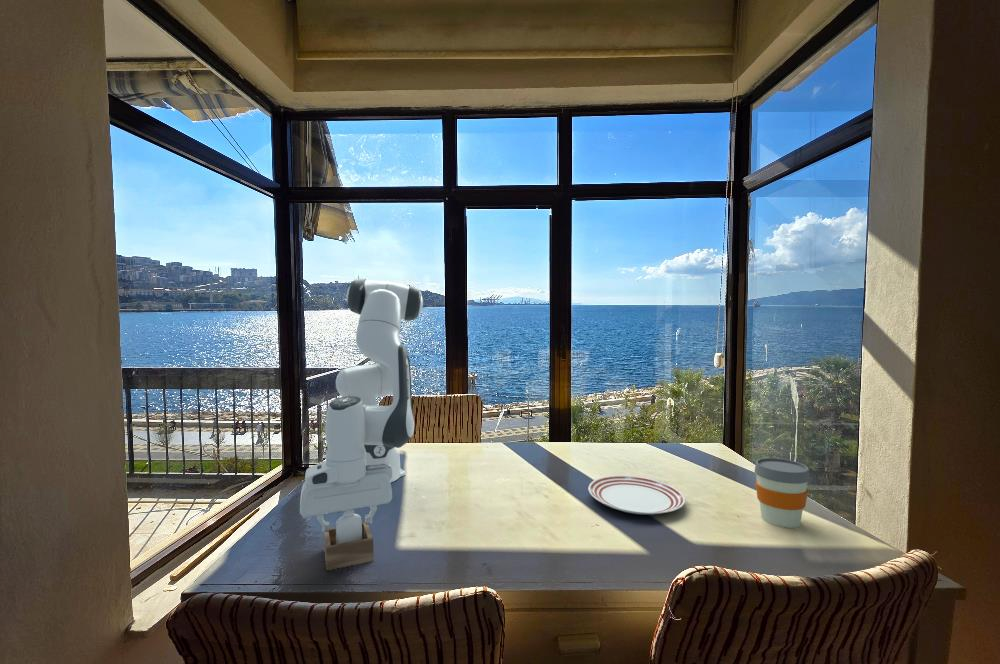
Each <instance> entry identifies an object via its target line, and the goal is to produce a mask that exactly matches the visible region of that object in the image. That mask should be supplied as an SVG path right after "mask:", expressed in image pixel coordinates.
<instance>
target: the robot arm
mask: <svg viewBox="0 0 1000 664" xmlns="http://www.w3.org/2000/svg"><path fill="white" fill-rule="evenodd" d="M422 293H423V292H421V290H420V289H419V288H418V287H415V286H413V285H405V284H403V283H397V282H394V281H385V280H384V281H383V280H373V279H372V280H371V279H370V280H369V279H366V278H356V279H354V280H353V281H352V282H350V284H349V286H348V288H347V291H346V295H345V299H346V305H347V308H348V309H349V311H350V312H352V313H355V314H357V315H359V319H358V323H357V329H356V334H355V335H356V336H355V341H356V342H355V343H356V346H357V348H358V351H360V353H361V354H362V355H363V356H365V357H366V358H367V359H369V360H370V361H372V362H375V363H374V364H373V363H372V364H358V365H353V366H350V367H346V368H343V369H341V370H340V371H339V372H338V373H337V376H336V379H335V388H336V390H337V393H338V394H339V395H340V396H341V397H337V398H334V399H333V400H332V401H330V402H329V403H328V405H327V410H326V413H325V414H326V415H325V428H324V429H325V432H324V433H325V435H324V436H325V442H326V445H327V448H326V449H327V450H326V454H325V460H323V461H321V462H318V463H317V464H315V465H312V466H310V467H308V468H307V469H306V471H305V474H304V475H305V476H304V479H305V481H303V484H302V487H301V491H300V492H301V493H300V500H299V514H300V516H302V517H303V518H308V517H315V516H316V519H317V521H318V523H320V525H321V526H322V533H323V534H324V533H325V532H330V528H331V527H330V521H325V518H324V517H325V515H326V514H331V513H332V514H333V513H337V512H338V513H339V512H343V511H345V510H351V509H354V510H356V509H363V508H366V507H367V508H368V507H369V508H370V511H369V513H368V514H365V515H364V522H365V524H366V525H372V524H373V517H374V516H375V514H376V512H377V510H378V506H380V505H387V504H389V503H390V502H391V501H392V500H393V489H392V485H391V484H392V483H394V482H395V481H397V480H398V479H400V478H401V477H403V476H405V475H406V471H405V470H404V469H402V467H401V459H400V451H398V450H397V449H400V448H402V447H403V446H405V445H406V444H407V443H408V442H410V440H411V439H412V438H413V437H414V433H415V419H414V418H415V417H414V411H413V400H412V385H413V382H414V379H413V378H414V377H413V373H412V372H413V371H412V370H411V363H410V362H411V361H410V355H409V354H410V353H409V351H408V349H407V347H406V346H405V345H403V344H402V343H401V339H400V335H401V334H400V332H401V325H402V320H404V321H406V322H408V321H415V320H416V319H418V317H419V316H420V314H421V312H422V310H423V306H424V298H423V296H422ZM386 396H387V397H388V396H392V403H391V404H390V405H378V402H377V398H378V397H386Z"/></svg>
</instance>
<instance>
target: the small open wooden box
mask: <svg viewBox="0 0 1000 664" xmlns="http://www.w3.org/2000/svg"><path fill="white" fill-rule="evenodd" d="M369 525H370V524H368V525H366V524H365V521H362V540H357V541H352V542H346V543H341V544H336V526H333V527H330V532H325V533H323V551H324V552H325V553H324V559H325V560H324V561H326V562H325V567H326V568H325V570H329V571H333V569H334V570H338V569H337V568H339V569H342V567H343V568H348V567H352V566H351V565H353V566H357V565H361V564H362V565H363V564H366V563H367V564H368V563H370V562H374V561H375V560H374V558H375V557H374V537H373V534H372V531H371V529H370V526H369ZM347 566H348V567H347Z"/></svg>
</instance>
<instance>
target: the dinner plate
mask: <svg viewBox="0 0 1000 664" xmlns="http://www.w3.org/2000/svg"><path fill="white" fill-rule="evenodd" d="M587 489H588V492H589V494H590V495H591V497H592V498H594V499H595V500H596V501H598V502H599V503H601V504H603V505H604V506H606V507H609V508H611V509H614V510H618V511H620V512H622V513H627V514H631V515H632V514H633V515H646V516H647V515H660V514H661V515H662V514H665V513H666V514H667V513H671V512H675V511H677V510H680V509H681V508H682V507H684V506H685V503H686V498H685V495H684V494H683V493H682V492H681V491H680V490H678V489H677V488H676V487H674V486H672V485H670V484H667V483H665V482H663V481H660V480H657V479H653V478H647V477H644V476H636V475H621V474H620V475H606V476H602V477H599V478H596V479H594V480H592V481H591V482H590V483H589V485H588V487H587Z"/></svg>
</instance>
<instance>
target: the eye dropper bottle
mask: <svg viewBox="0 0 1000 664" xmlns="http://www.w3.org/2000/svg"><path fill="white" fill-rule="evenodd" d="M362 519H363V518H362V517H361V515H360V514H358V513H355V509H351V510H345V511H342V516H341V517H339V518H337V520H336V521H335V527H336V544H341V543H346V542H352V541H357V540H362V522H363V521H362Z"/></svg>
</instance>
